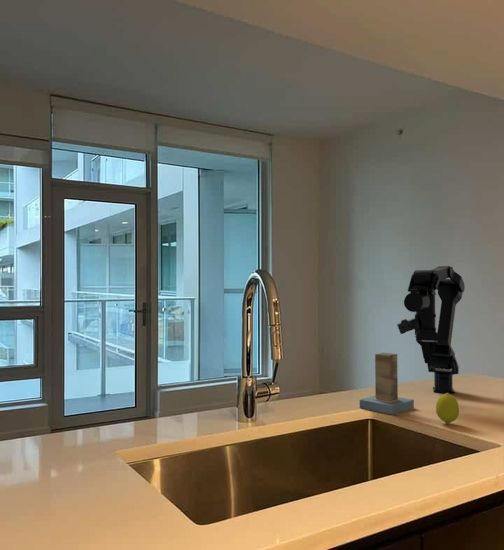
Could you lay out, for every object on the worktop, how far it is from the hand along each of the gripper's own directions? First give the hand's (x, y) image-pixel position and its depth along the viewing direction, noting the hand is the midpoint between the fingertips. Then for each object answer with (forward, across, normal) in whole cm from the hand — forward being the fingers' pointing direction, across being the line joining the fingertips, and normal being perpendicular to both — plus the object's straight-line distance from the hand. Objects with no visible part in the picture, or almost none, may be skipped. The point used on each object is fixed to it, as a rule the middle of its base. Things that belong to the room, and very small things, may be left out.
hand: (426, 361), depth 159 cm
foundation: (+12, +14, -12) cm, 21 cm away
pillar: (+9, +14, -12) cm, 20 cm away
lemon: (+12, +27, +4) cm, 30 cm away
